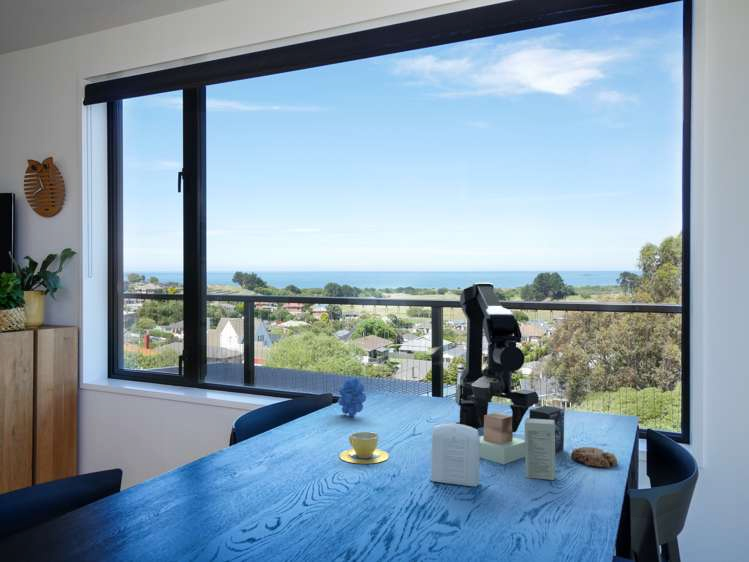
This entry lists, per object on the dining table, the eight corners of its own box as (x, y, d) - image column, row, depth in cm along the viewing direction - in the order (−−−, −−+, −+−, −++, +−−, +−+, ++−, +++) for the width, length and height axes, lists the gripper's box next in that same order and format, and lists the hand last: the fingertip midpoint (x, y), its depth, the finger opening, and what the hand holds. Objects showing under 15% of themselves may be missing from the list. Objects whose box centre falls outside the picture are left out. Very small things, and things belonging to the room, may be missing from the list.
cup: (399, 457, 145) (399, 435, 144) (363, 469, 136) (364, 445, 136) (364, 447, 153) (364, 426, 153) (328, 457, 144) (329, 434, 144)
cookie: (577, 453, 150) (577, 441, 150) (622, 461, 144) (622, 449, 144) (564, 463, 142) (564, 450, 142) (611, 472, 136) (611, 459, 135)
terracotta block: (495, 436, 150) (495, 412, 150) (512, 440, 147) (513, 416, 147) (483, 439, 147) (484, 415, 147) (500, 444, 143) (501, 419, 143)
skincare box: (555, 474, 133) (556, 419, 133) (554, 481, 129) (555, 424, 128) (525, 471, 135) (526, 417, 135) (523, 477, 131) (524, 421, 131)
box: (548, 456, 146) (549, 413, 146) (527, 451, 150) (528, 409, 150) (564, 450, 151) (565, 408, 151) (544, 445, 155) (545, 404, 155)
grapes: (375, 417, 183) (375, 378, 183) (359, 421, 179) (359, 380, 178) (349, 410, 192) (349, 373, 191) (333, 414, 187) (333, 375, 187)
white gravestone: (480, 481, 128) (481, 423, 128) (477, 488, 124) (478, 428, 123) (432, 476, 131) (433, 419, 131) (428, 482, 127) (429, 424, 127)
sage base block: (493, 448, 154) (493, 432, 154) (527, 457, 147) (527, 440, 146) (469, 456, 147) (469, 439, 147) (503, 466, 140) (504, 448, 140)
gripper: (448, 363, 148) (447, 426, 148) (513, 373, 134) (512, 442, 134) (476, 359, 155) (475, 419, 156) (540, 368, 142) (539, 433, 142)
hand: (498, 428), depth 147 cm, fingers open, 9 cm apart
